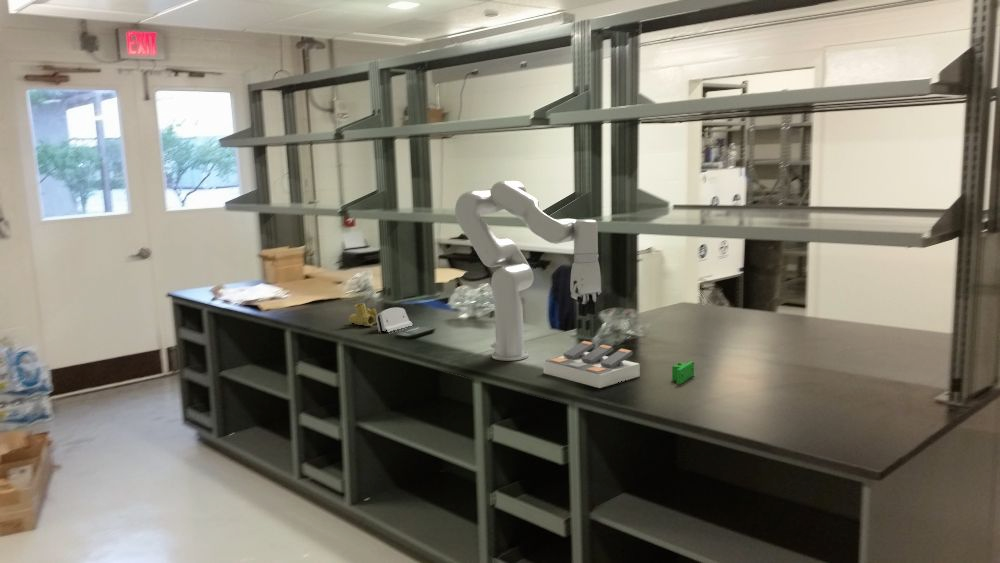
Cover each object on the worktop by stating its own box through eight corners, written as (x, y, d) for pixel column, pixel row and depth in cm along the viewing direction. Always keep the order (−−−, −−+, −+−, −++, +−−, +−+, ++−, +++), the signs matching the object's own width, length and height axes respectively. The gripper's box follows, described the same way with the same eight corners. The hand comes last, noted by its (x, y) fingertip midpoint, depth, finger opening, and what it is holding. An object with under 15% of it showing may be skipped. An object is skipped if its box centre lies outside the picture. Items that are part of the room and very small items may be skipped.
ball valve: (367, 330, 321) (385, 323, 328) (362, 307, 319) (380, 300, 326) (349, 328, 329) (367, 321, 336) (344, 305, 327) (362, 299, 334)
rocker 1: (564, 357, 244) (563, 353, 244) (584, 344, 250) (584, 340, 250) (573, 359, 241) (572, 355, 241) (594, 346, 247) (593, 342, 246)
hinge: (387, 333, 309) (380, 310, 309) (379, 336, 311) (372, 313, 312) (413, 326, 323) (406, 303, 323) (405, 328, 325) (398, 306, 326)
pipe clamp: (682, 374, 236) (682, 360, 236) (694, 376, 234) (694, 361, 234) (668, 382, 227) (668, 367, 227) (680, 384, 225) (680, 369, 225)
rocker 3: (601, 365, 232) (600, 361, 232) (622, 352, 238) (621, 348, 237) (611, 368, 229) (611, 364, 228) (632, 354, 235) (632, 350, 234)
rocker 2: (582, 361, 238) (581, 357, 238) (603, 347, 244) (602, 344, 244) (592, 363, 235) (591, 359, 234) (613, 350, 241) (612, 346, 240)
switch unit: (543, 373, 242) (543, 357, 241) (583, 362, 253) (583, 348, 252) (599, 388, 223) (599, 371, 223) (639, 376, 235) (639, 360, 234)
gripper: (595, 255, 252) (595, 310, 254) (559, 260, 241) (560, 317, 244) (612, 256, 246) (612, 312, 248) (576, 261, 235) (577, 320, 238)
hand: (586, 314), depth 246 cm, fingers open, 3 cm apart
